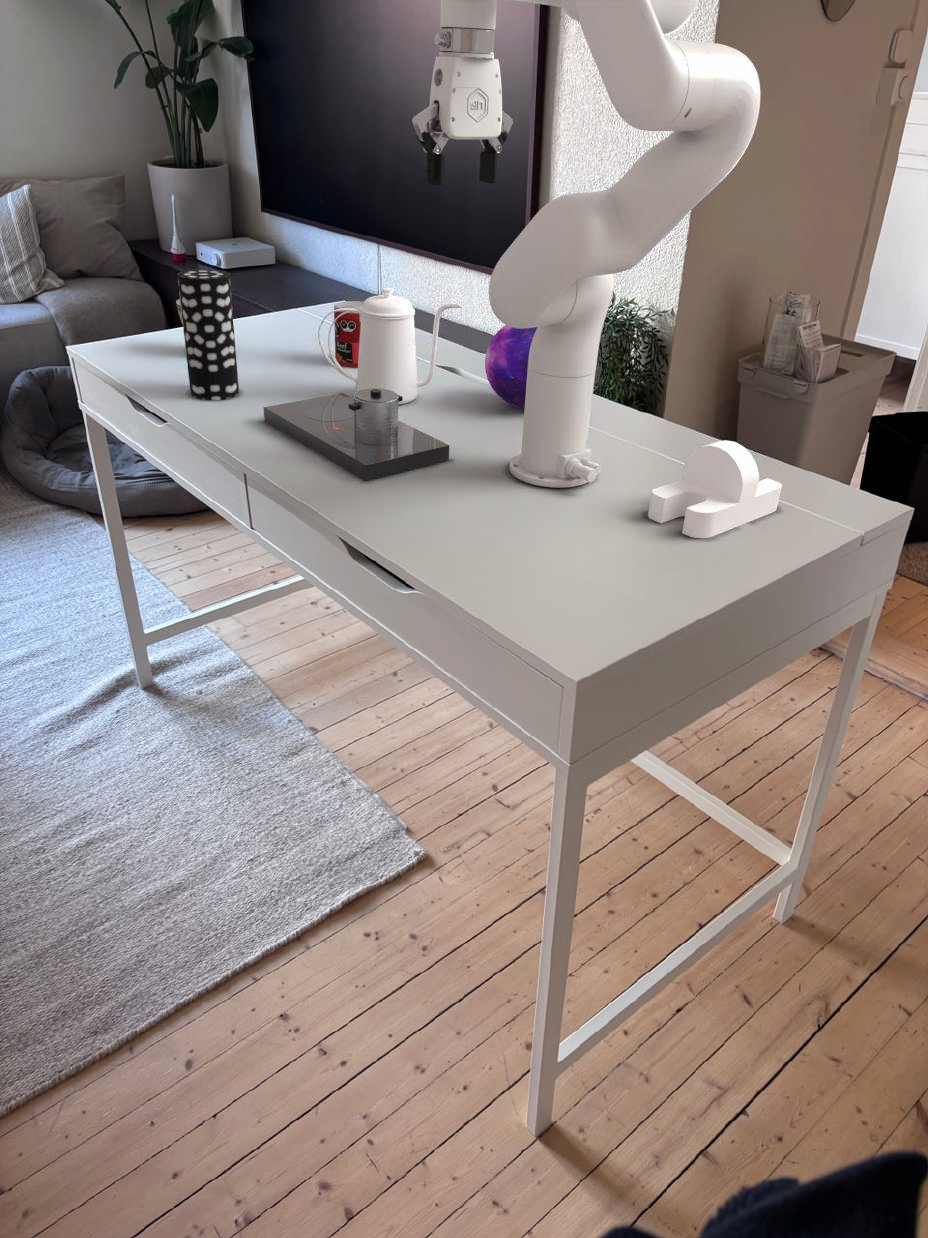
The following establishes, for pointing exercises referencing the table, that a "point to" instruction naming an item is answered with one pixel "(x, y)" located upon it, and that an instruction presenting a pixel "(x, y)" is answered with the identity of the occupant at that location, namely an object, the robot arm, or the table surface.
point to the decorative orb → (509, 363)
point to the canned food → (347, 334)
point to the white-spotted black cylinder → (209, 333)
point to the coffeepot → (388, 345)
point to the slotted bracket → (715, 491)
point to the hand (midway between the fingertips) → (461, 183)
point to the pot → (375, 416)
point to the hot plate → (332, 436)
